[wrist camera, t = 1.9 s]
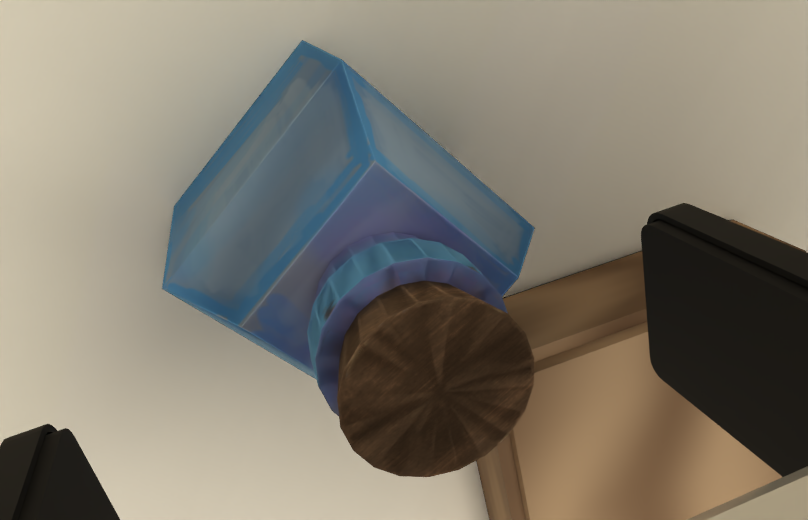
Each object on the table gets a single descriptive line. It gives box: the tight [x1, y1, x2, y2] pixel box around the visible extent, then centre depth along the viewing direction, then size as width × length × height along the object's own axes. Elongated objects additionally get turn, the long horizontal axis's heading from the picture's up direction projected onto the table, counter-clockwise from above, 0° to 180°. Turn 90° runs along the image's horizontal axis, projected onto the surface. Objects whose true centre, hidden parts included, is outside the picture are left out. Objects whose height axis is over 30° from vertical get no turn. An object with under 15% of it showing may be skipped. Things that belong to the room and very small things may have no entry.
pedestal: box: [476, 220, 806, 520], centre depth 25 cm, size 12×12×4 cm
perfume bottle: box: [162, 40, 535, 477], centre depth 15 cm, size 6×6×12 cm
